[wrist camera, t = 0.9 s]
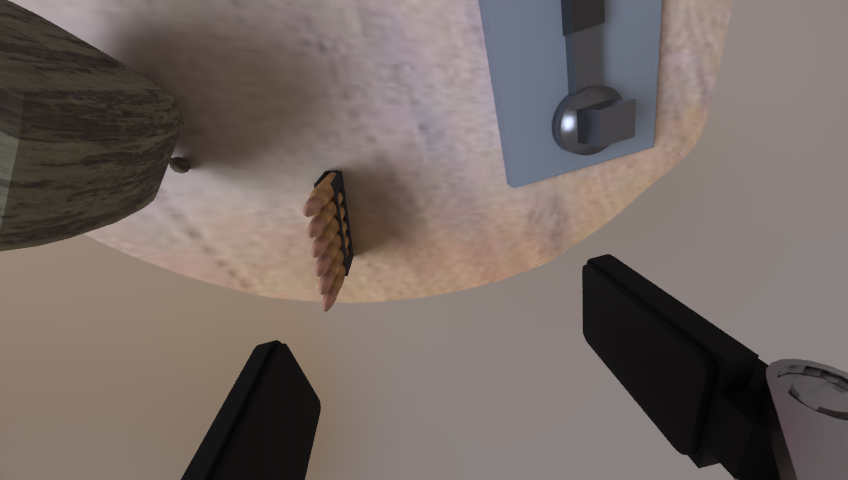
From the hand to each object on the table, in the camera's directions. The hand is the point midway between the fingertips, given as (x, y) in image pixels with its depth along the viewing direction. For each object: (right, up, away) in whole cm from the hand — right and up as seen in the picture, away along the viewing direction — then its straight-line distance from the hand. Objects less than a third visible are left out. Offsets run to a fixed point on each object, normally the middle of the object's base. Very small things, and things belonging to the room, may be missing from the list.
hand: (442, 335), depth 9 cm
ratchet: (+14, +20, +19) cm, 31 cm away
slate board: (+14, +20, +21) cm, 33 cm away
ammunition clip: (-10, +6, +26) cm, 28 cm away
